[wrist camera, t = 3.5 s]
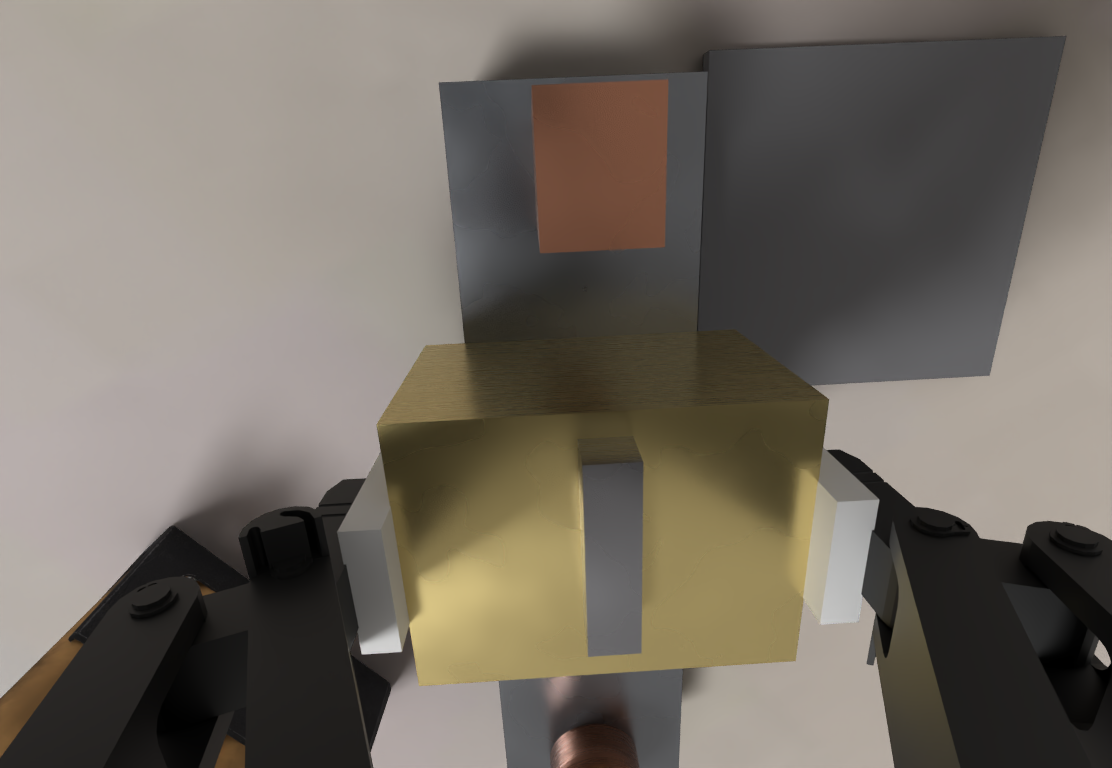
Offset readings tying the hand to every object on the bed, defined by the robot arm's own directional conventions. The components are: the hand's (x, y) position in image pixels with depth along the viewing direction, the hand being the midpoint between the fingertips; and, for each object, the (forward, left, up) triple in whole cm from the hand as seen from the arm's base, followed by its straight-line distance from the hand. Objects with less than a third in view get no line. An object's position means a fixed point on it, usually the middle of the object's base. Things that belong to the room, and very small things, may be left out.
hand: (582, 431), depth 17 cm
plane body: (+3, 0, -3) cm, 4 cm away
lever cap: (0, 0, +1) cm, 1 cm away
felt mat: (-5, +9, -3) cm, 11 cm away
